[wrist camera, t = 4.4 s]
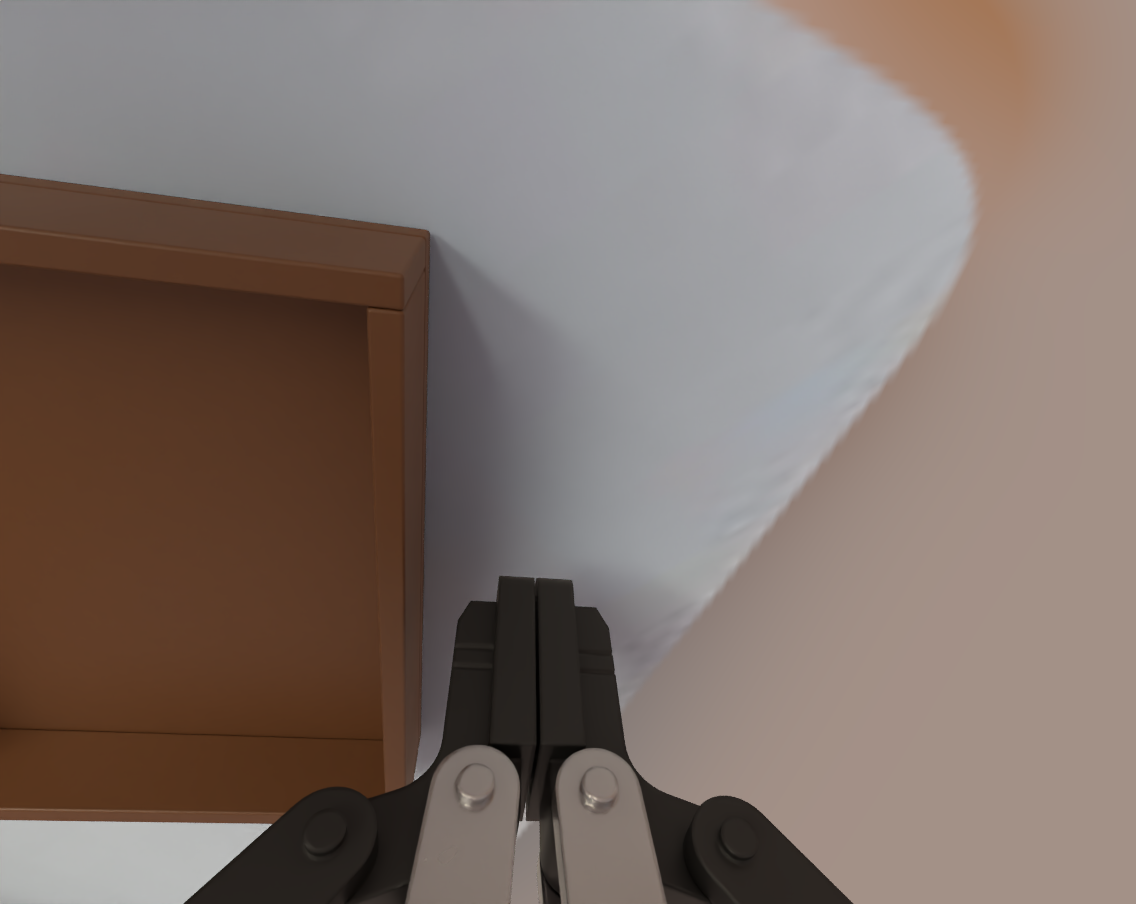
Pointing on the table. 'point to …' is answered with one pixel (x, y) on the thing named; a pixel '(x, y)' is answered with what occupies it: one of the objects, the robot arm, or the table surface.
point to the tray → (206, 505)
